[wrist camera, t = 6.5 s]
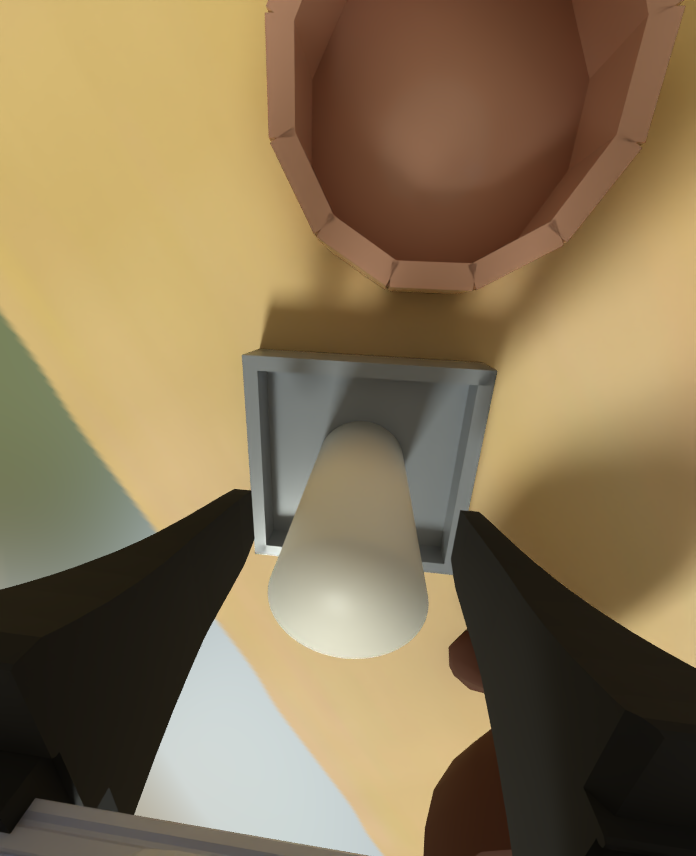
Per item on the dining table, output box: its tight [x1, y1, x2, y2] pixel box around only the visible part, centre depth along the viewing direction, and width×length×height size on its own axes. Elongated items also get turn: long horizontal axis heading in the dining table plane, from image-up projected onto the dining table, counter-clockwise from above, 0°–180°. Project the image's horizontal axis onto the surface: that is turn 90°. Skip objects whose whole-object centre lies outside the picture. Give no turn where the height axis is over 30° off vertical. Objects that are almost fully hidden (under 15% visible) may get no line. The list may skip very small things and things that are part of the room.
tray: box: [242, 349, 497, 575], centre depth 16 cm, size 10×10×2 cm
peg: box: [268, 421, 428, 659], centre depth 12 cm, size 4×4×8 cm
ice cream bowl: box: [424, 631, 512, 856], centre depth 13 cm, size 11×11×15 cm
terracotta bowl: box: [265, 0, 685, 294], centre depth 10 cm, size 11×11×3 cm
